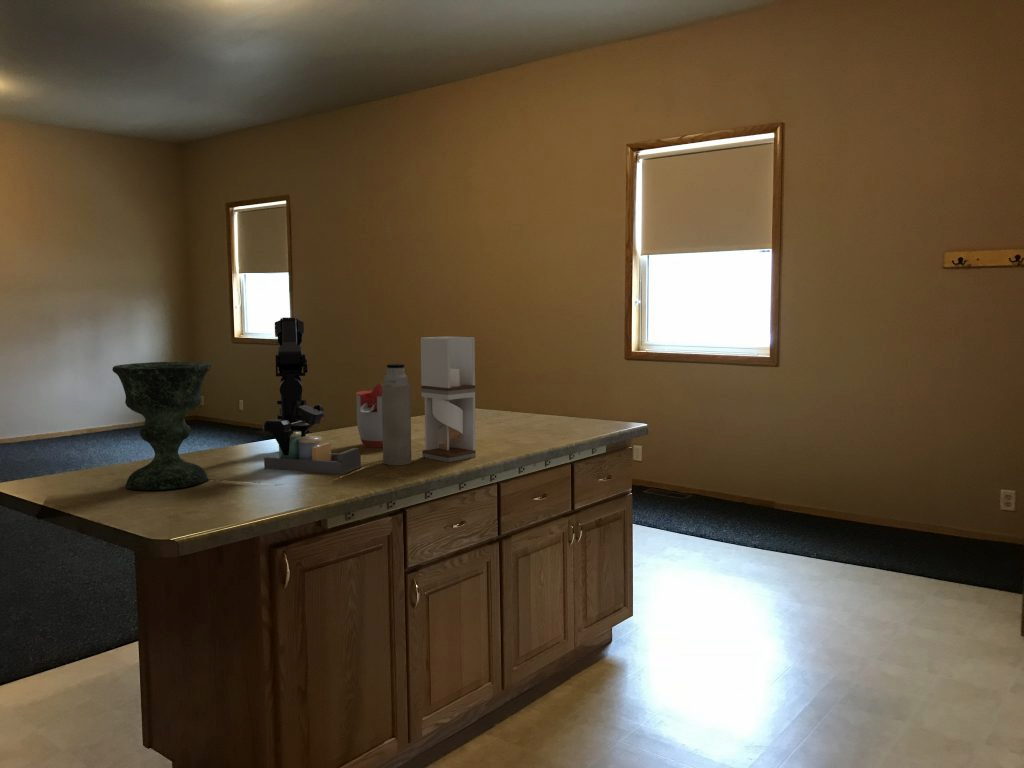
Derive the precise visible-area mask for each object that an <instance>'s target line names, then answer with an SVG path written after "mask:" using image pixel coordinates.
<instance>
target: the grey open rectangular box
mask: <svg viewBox="0 0 1024 768" xmlns="http://www.w3.org/2000/svg"><path fill="white" fill-rule="evenodd" d="M361 456H362V455H361V454H360V449H359V447H353V448H350V449H347V450H343V451H341V452H339V453H335V452H334V453H333V452H331V461H324V460H307V459H290V458H279V457H270V456H265V457H263V466H264V467H263V468H264V470H275V471H277V470H278V471H290V472H293V471H294V472H307V473H322V474H323V473H324V474H339V475H340V476H342V475H344V476H346V475H345V474H347V473H349V474H351V473H353V472H352V471H354V472H356V471H358V470H357V469H359V470H360V468H361V466H362V462H361V461H362V459H361V458H362V457H361ZM355 470H356V471H355ZM350 472H351V473H350ZM347 475H348V474H347ZM342 477H343V476H342Z"/></svg>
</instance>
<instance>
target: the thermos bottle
mask: <svg viewBox="0 0 1024 768" xmlns="http://www.w3.org/2000/svg"><path fill="white" fill-rule="evenodd" d="M386 368H387V369H386V375H384V376H383V383H382V429H383V448H382V463H383V465H386V464H387V465H388V466H404V465H408V464H411V463H412V420H411V419H412V417H411V416H412V415H411V414H412V413H411V410H412V409H411V408H412V407H411V401H412V400H411V383H409V382H408V381H409V377H408V375H406V373H405V364H403V363H391V364H389V363H388V364H386Z"/></svg>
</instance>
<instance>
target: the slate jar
mask: <svg viewBox="0 0 1024 768" xmlns="http://www.w3.org/2000/svg"><path fill="white" fill-rule="evenodd" d="M321 444H322V436H319V435H306V436H304V437H299V438H298V449H299V459H307V460H312V447H315V446H318V445H321Z"/></svg>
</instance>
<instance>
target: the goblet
mask: <svg viewBox="0 0 1024 768" xmlns="http://www.w3.org/2000/svg"><path fill="white" fill-rule="evenodd" d="M210 370H212V365H211V364H210V363H208V362H205V361H160V362H159V361H155V362H154V361H153V362H138V363H137V362H136V363H126V364H119V365H118V364H117V365H114V366H113V367H112V372H113V373H114V374H116V375H117V377H118V379H119V381H120V383H121V385H122V387H123V391H124V394H125V395H124V396H125V401H124V403H125V405H126V407H127V408H128V409H130V410H131V411H132V412H135V413H137V414H139V415H141V416H142V417H143V418H144V424H143V426H142V428H140V429H139V436H140V438H141V440H143V441H145V442H147V443H148V444H149V445H150V446H151V448H152V449H153V452H154V457H153V458H152V460H151V461H150V462H149V463H147V464H146V465H144V466H141V467H140V468H137V469H136V470H134V471H133V472H132V473H131V474H130V475H129V476H128V478H127V480H126V483H125V488H127V489H129V490H135V491H164V490H173V489H182V488H187V487H192V486H193V487H194V486H196V485H200V484H202V483H204V482H206V481H208V480H209V476H208V474H207V472H206V471H205V469H204V468H203V467H202V466H200V465H198V464H195V463H193V462H192V463H191V462H189V461H185V460H184V459H182V458H181V457H180V455H179V454H180V453H179V450H180V447H181V445H182V443H183V441H184V440H186V439H187V438H189V437H190V434H191V432H192V429H191V426H190V425H188V424H187V423H186V420H185V419H186V415H187V414H188V413H190V412H191V411H192V410H195V409H196V408H197V407H198V406H199V405H200V404H201V403H202V400H203V398H202V395H201V394H202V388H203V383H204V380H205V377H206V375H207V373H208V372H209V371H210Z"/></svg>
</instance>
